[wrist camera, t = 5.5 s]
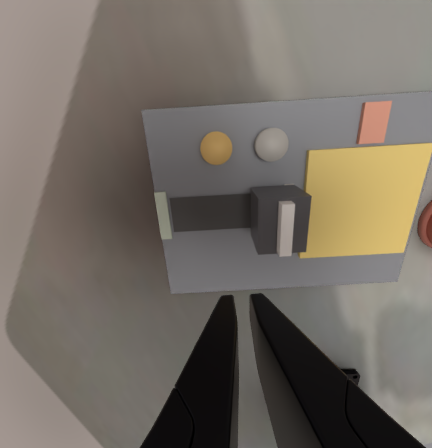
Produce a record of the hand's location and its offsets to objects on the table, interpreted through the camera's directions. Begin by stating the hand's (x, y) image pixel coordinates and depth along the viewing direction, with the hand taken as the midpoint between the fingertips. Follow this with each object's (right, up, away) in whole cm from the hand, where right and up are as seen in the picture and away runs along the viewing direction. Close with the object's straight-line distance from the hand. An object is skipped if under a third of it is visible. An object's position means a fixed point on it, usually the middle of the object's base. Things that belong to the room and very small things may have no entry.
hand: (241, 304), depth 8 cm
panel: (+4, +4, +10) cm, 12 cm away
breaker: (+3, +4, +9) cm, 10 cm away
